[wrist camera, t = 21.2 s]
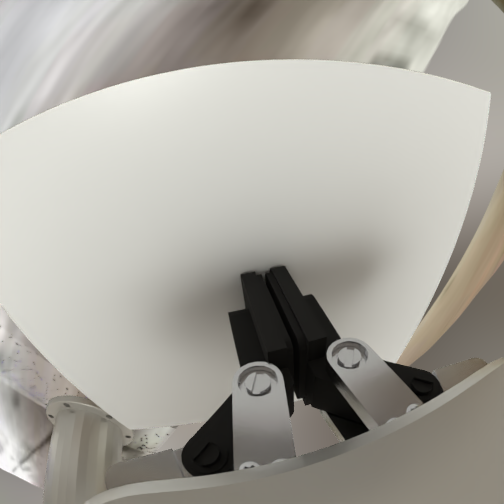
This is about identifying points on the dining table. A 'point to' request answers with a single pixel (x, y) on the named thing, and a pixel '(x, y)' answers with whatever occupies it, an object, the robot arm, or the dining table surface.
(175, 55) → the dining table surface
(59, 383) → the dining table surface
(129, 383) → the plate
